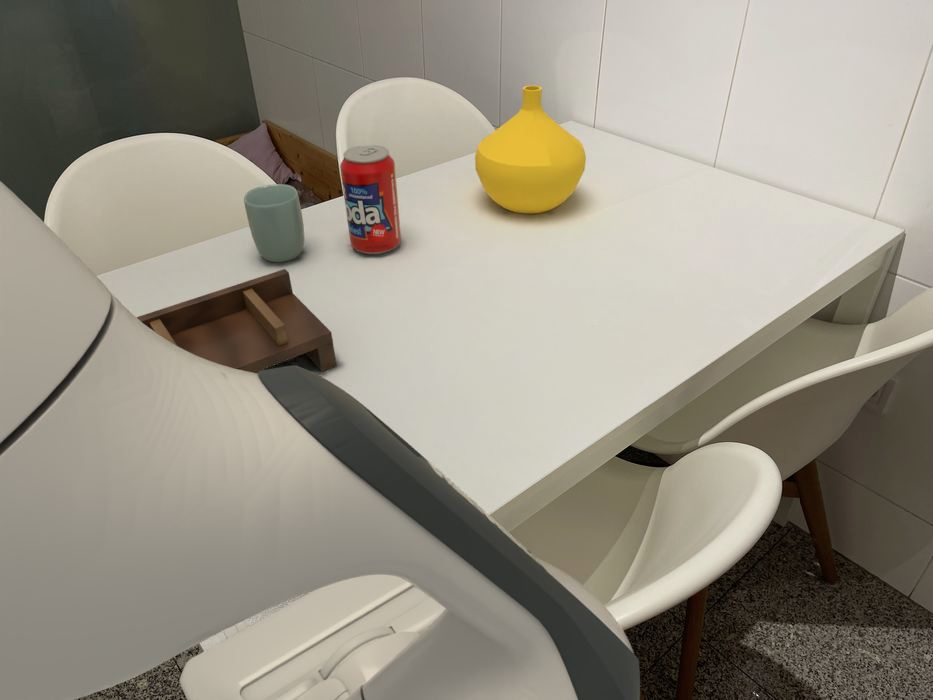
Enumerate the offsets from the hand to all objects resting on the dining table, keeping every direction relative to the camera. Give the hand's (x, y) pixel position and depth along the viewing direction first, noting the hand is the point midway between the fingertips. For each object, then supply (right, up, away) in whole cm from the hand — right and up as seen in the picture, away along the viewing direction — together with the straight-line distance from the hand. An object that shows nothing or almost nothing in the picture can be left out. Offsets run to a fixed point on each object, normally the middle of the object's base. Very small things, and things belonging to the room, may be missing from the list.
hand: (293, 556), depth 53 cm
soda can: (-1, +32, +56) cm, 64 cm away
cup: (-15, +30, +54) cm, 63 cm away
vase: (+24, +41, +68) cm, 83 cm away
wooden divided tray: (-15, +13, +30) cm, 36 cm away
